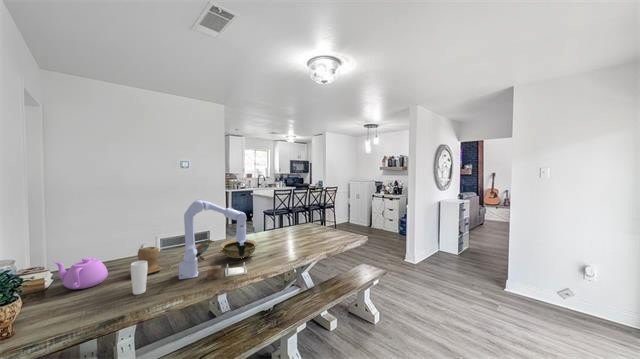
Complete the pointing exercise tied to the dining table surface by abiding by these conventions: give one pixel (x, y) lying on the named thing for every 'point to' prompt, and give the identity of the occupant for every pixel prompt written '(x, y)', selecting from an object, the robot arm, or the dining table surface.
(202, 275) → the dining table surface
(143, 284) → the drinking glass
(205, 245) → the bird figurine
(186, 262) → the robot arm
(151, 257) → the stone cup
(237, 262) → the dining table surface
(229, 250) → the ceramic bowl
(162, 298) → the dining table surface
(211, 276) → the walnut block
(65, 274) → the teapot
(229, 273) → the standoff plate
